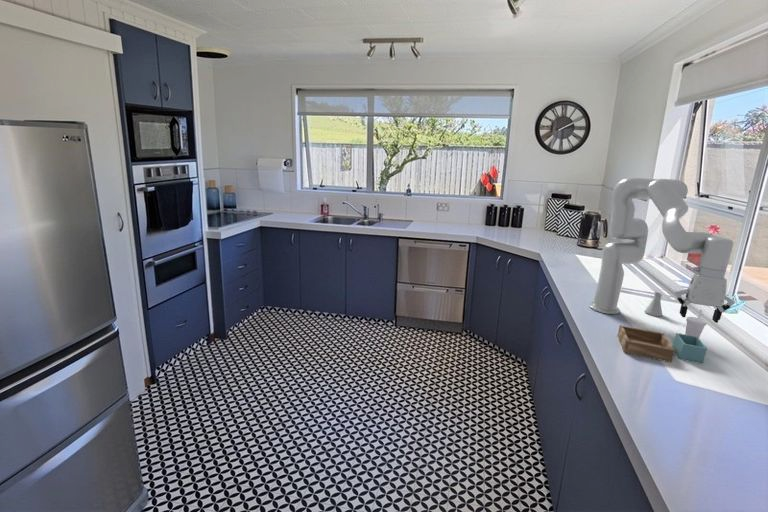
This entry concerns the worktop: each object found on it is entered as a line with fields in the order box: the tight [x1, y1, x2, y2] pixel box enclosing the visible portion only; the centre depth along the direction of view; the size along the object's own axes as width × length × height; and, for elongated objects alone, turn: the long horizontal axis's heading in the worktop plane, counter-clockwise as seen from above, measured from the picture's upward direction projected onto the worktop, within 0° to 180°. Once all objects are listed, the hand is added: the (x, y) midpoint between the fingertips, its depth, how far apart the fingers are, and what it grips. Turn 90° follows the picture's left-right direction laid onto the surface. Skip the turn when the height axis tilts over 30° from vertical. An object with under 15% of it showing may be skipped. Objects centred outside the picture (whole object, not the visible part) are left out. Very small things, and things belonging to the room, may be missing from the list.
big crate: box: [616, 325, 675, 363], centre depth 155 cm, size 15×15×4 cm
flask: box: [644, 291, 663, 318], centre depth 189 cm, size 7×7×10 cm
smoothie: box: [684, 309, 708, 339], centre depth 161 cm, size 6×6×14 cm
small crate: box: [671, 332, 708, 364], centre depth 152 cm, size 10×7×6 cm
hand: (698, 318), depth 148 cm, fingers open, 9 cm apart
